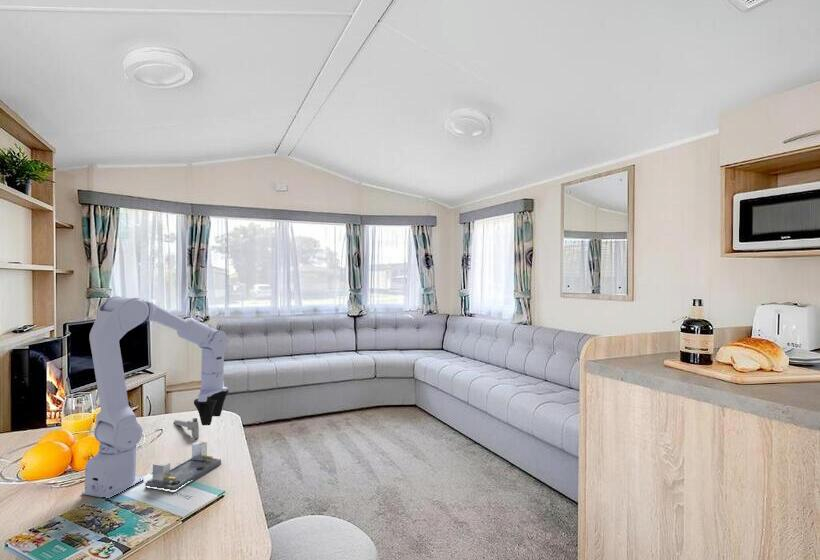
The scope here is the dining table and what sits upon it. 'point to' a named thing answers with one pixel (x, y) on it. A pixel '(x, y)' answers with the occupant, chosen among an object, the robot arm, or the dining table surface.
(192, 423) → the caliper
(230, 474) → the dining table surface
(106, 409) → the robot arm
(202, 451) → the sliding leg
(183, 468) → the gauge plate
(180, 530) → the dining table surface
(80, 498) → the dining table surface
